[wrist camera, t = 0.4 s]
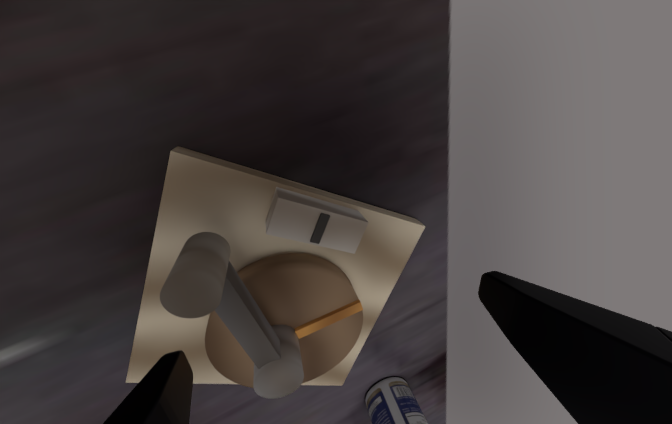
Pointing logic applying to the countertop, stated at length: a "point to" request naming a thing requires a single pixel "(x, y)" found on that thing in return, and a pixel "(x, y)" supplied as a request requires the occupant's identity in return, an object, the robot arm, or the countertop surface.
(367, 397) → the pill bottle
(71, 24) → the countertop surface
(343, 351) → the crank handle
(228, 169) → the stand
